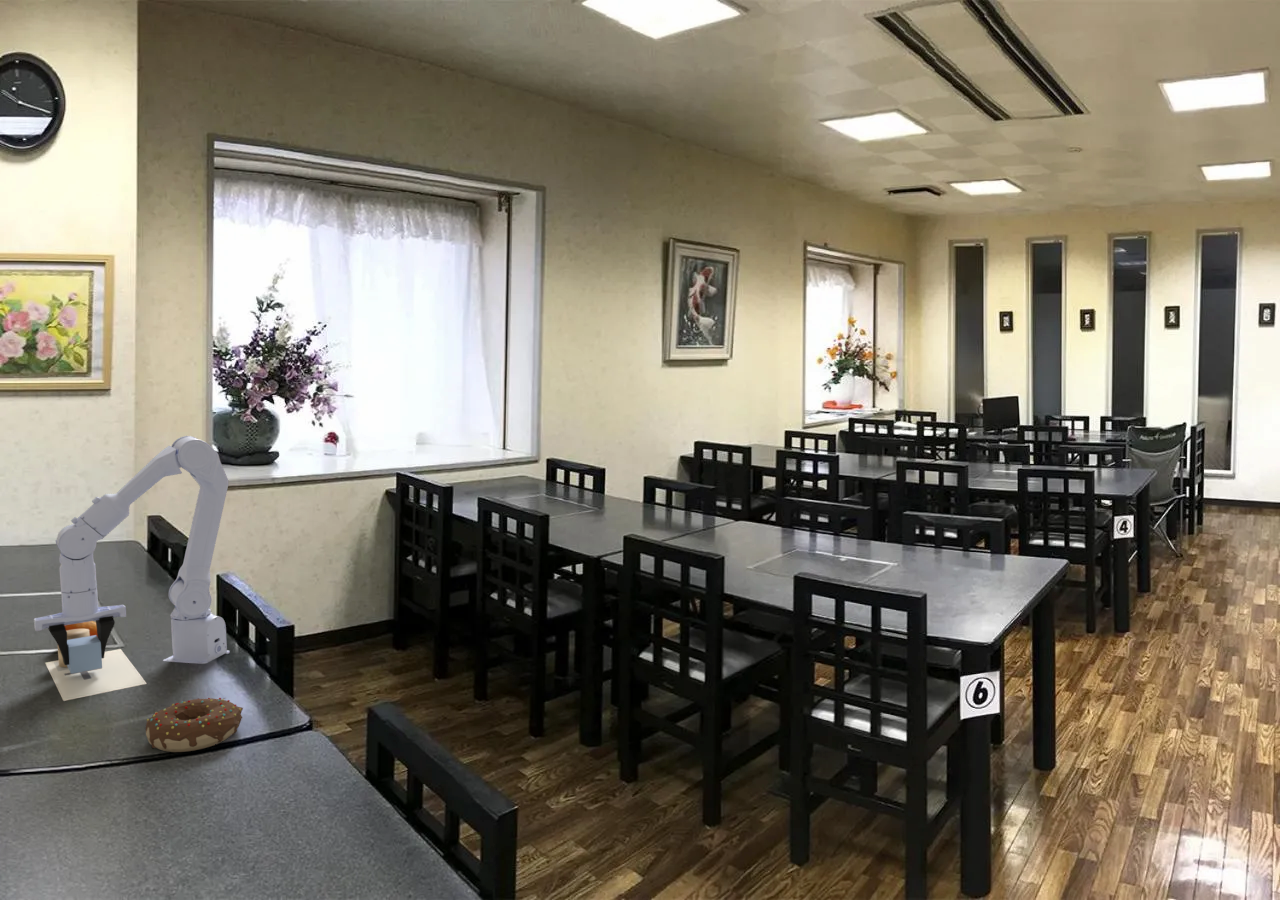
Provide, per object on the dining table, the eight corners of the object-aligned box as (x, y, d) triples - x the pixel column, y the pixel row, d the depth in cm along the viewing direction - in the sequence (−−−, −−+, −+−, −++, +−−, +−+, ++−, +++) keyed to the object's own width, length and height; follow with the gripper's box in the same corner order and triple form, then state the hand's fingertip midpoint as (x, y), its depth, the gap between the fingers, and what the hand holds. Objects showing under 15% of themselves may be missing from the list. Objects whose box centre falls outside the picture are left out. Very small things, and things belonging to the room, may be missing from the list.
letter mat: (120, 651, 187) (120, 648, 187) (147, 686, 167) (146, 683, 167) (45, 665, 179) (45, 662, 179) (63, 704, 159) (63, 700, 159)
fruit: (38, 648, 184) (57, 610, 187) (74, 658, 191) (91, 621, 194) (62, 655, 181) (81, 615, 183) (97, 664, 187) (115, 626, 190)
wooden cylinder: (91, 656, 182) (89, 627, 181) (91, 663, 177) (89, 633, 177) (59, 661, 179) (56, 631, 179) (58, 669, 175) (56, 638, 174)
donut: (154, 766, 136) (152, 734, 136) (140, 735, 147) (138, 705, 146) (255, 741, 144) (254, 711, 144) (235, 714, 155) (233, 685, 155)
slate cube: (97, 660, 175) (95, 635, 175) (102, 667, 171) (100, 641, 171) (67, 666, 172) (65, 640, 171) (71, 673, 168) (69, 647, 168)
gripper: (119, 579, 178) (123, 646, 179) (30, 591, 169) (35, 662, 170) (126, 586, 172) (130, 656, 174) (34, 599, 163) (40, 673, 165)
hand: (84, 660), depth 172 cm, fingers closed on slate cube, 5 cm apart
